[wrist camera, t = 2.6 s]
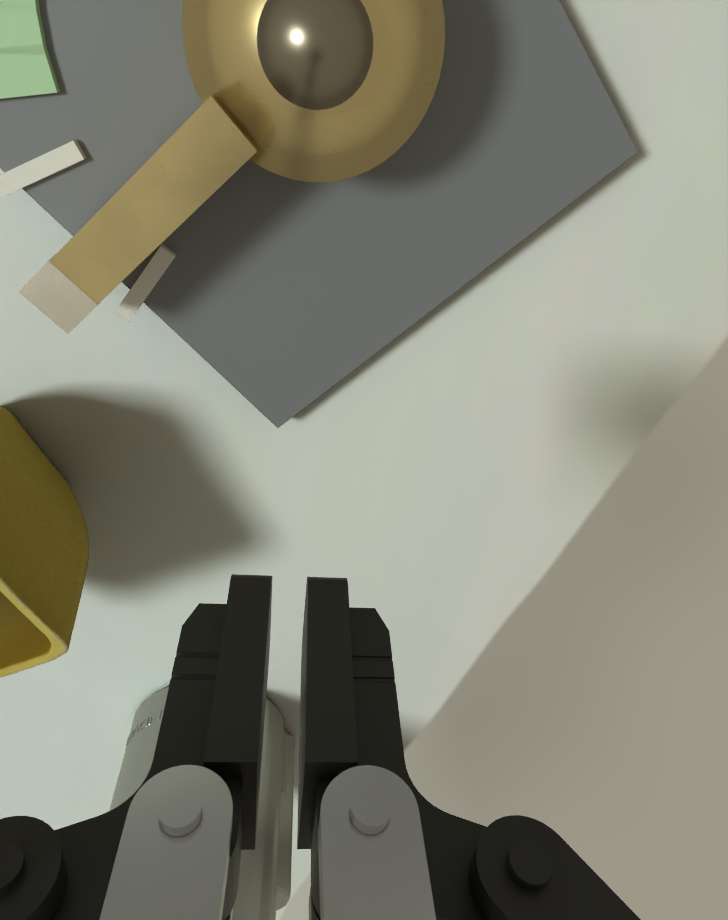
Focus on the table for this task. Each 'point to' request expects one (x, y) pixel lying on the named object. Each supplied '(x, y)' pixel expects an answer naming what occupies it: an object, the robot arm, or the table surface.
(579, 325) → the table surface
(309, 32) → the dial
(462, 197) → the board
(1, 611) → the flower pot
